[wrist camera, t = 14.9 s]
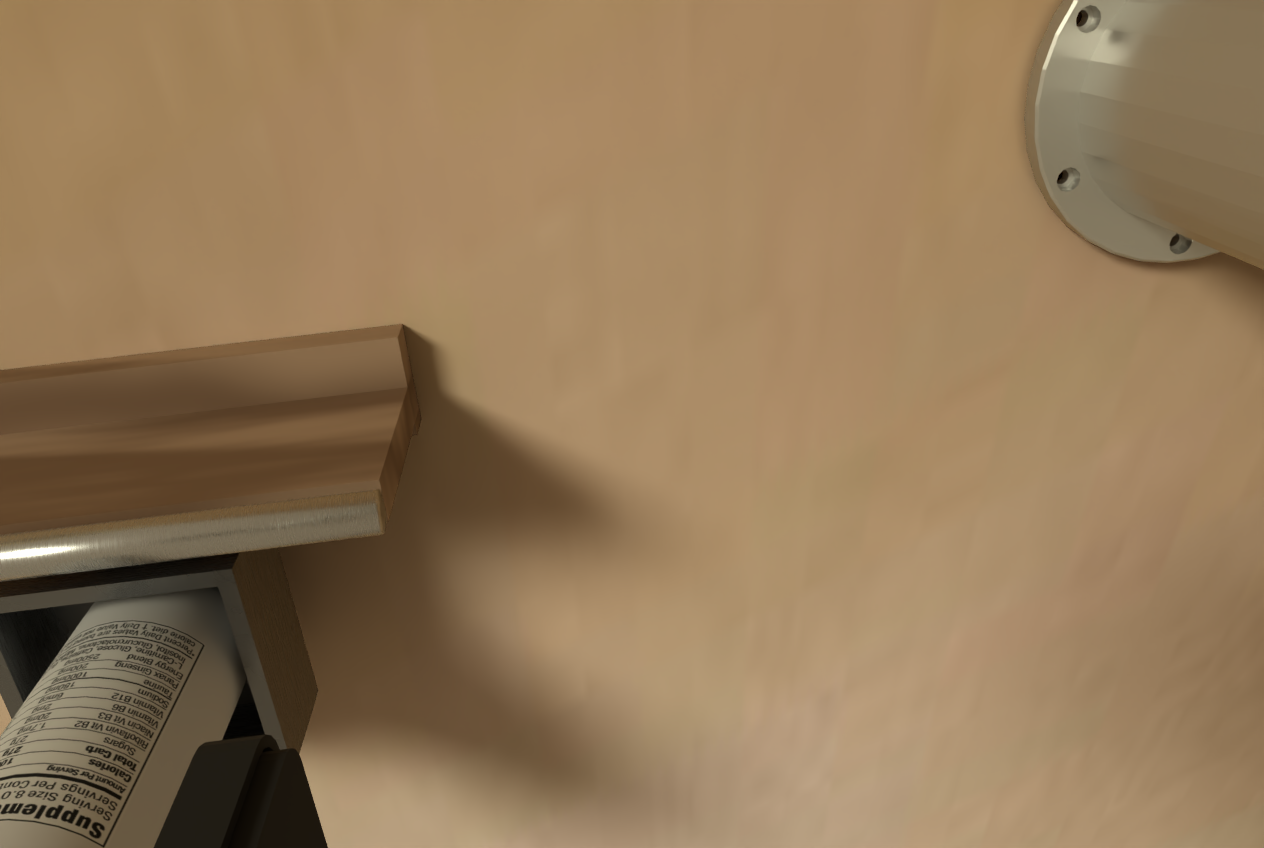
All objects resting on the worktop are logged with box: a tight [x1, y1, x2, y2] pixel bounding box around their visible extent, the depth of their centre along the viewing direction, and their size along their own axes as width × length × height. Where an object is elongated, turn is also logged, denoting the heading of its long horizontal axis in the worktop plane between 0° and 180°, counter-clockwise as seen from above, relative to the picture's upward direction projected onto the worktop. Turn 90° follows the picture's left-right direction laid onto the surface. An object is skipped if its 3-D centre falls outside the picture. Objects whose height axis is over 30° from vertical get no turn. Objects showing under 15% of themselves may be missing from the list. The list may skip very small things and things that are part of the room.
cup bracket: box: [0, 324, 421, 753], centre depth 36 cm, size 14×20×10 cm
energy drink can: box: [0, 587, 247, 848], centre depth 31 cm, size 6×6×15 cm
